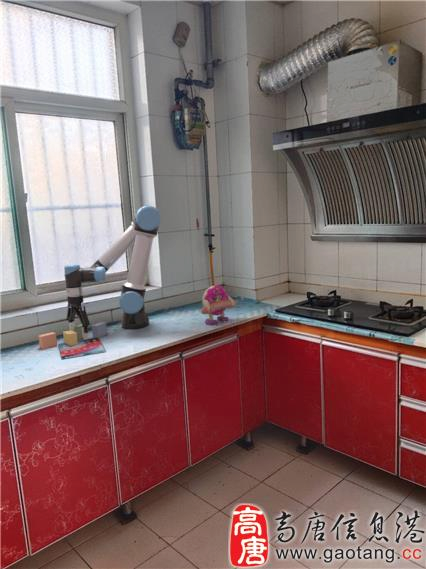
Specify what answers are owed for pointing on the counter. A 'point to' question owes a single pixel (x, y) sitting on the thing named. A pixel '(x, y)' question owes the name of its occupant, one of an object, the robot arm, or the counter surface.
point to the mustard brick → (70, 338)
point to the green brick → (77, 330)
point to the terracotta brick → (47, 340)
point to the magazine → (81, 348)
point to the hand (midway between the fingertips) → (79, 336)
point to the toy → (216, 304)
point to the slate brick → (99, 329)
